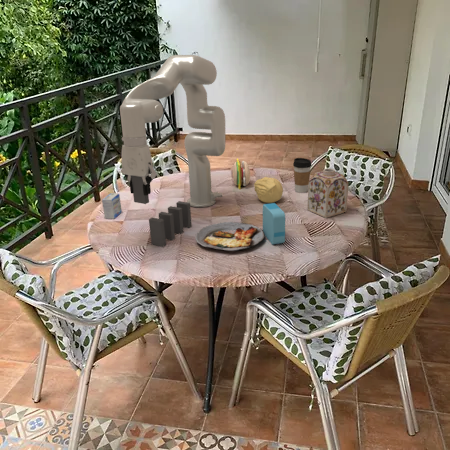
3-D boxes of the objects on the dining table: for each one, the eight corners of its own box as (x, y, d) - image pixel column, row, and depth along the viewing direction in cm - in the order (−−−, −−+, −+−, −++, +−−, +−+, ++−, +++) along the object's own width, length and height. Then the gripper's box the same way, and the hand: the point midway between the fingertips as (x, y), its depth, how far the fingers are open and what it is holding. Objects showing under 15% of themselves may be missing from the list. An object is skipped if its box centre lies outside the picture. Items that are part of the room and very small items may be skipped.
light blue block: (285, 244, 161) (285, 213, 156) (273, 246, 160) (273, 214, 155) (273, 231, 172) (274, 201, 167) (262, 232, 171) (262, 203, 166)
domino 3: (163, 236, 171) (161, 211, 167) (175, 238, 168) (172, 213, 164) (160, 238, 169) (158, 213, 165) (172, 240, 167) (169, 215, 163)
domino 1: (137, 200, 159) (134, 173, 156) (149, 202, 157) (146, 174, 153) (134, 202, 158) (131, 174, 154) (145, 204, 156) (142, 176, 152)
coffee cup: (297, 186, 218) (298, 156, 212) (313, 189, 213) (315, 158, 207) (289, 191, 212) (289, 160, 206) (305, 194, 207) (306, 163, 201)
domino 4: (172, 230, 175) (170, 206, 171) (183, 232, 173) (181, 208, 169) (169, 232, 174) (167, 208, 170) (180, 234, 172) (178, 209, 168)
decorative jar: (347, 212, 186) (350, 170, 179) (326, 219, 181) (328, 175, 173) (326, 204, 196) (329, 163, 188) (306, 210, 190) (308, 168, 183)
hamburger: (251, 188, 217) (251, 164, 213) (234, 189, 217) (233, 165, 212) (248, 181, 228) (248, 158, 224) (232, 181, 228) (232, 158, 223)
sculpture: (250, 200, 203) (250, 177, 198) (270, 194, 209) (270, 171, 205) (268, 207, 194) (268, 183, 190) (287, 200, 201) (288, 177, 197)
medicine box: (114, 219, 188) (111, 199, 184) (104, 218, 188) (101, 199, 185) (122, 212, 195) (119, 193, 191) (112, 211, 196) (109, 192, 192)
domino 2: (154, 242, 166) (152, 217, 162) (166, 244, 164) (163, 219, 160) (151, 244, 164) (148, 219, 160) (162, 247, 162) (160, 221, 158)
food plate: (273, 231, 171) (272, 223, 169) (250, 259, 152) (250, 250, 150) (213, 224, 181) (213, 216, 179) (185, 249, 162) (184, 240, 160)
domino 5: (180, 224, 180) (179, 201, 176) (191, 226, 178) (190, 202, 174) (178, 226, 179) (176, 202, 175) (189, 228, 176) (187, 204, 172)
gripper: (107, 141, 150) (114, 193, 157) (149, 145, 142) (154, 200, 149) (122, 137, 156) (128, 187, 163) (162, 141, 148) (167, 193, 156)
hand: (140, 192), depth 156 cm, fingers closed on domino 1, 4 cm apart
